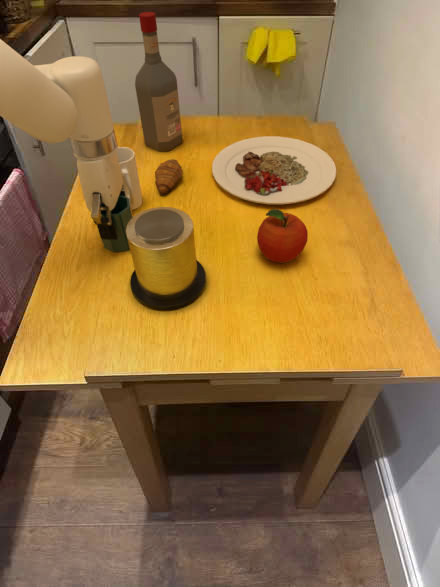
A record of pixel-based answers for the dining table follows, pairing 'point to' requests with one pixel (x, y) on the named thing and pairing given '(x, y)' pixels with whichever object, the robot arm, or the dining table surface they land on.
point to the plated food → (274, 170)
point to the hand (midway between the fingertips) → (115, 222)
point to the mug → (130, 176)
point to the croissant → (167, 175)
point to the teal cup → (119, 224)
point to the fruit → (281, 236)
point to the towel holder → (164, 259)
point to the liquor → (157, 93)
